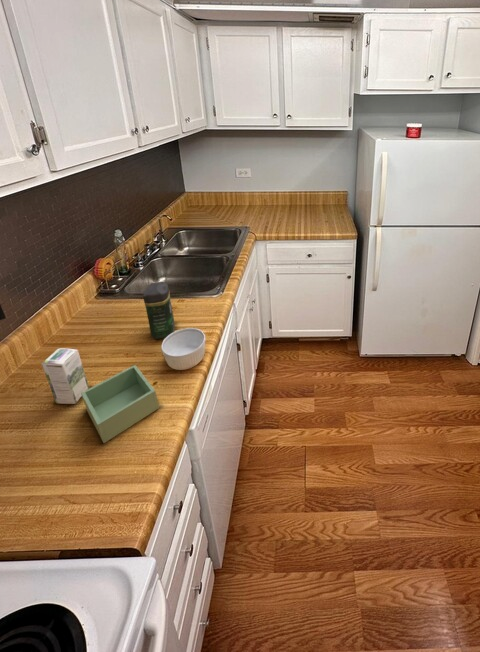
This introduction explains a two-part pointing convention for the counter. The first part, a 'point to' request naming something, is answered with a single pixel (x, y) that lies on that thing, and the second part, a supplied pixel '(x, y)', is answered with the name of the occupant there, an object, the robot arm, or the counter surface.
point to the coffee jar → (159, 310)
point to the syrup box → (65, 375)
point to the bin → (120, 402)
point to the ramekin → (184, 348)
